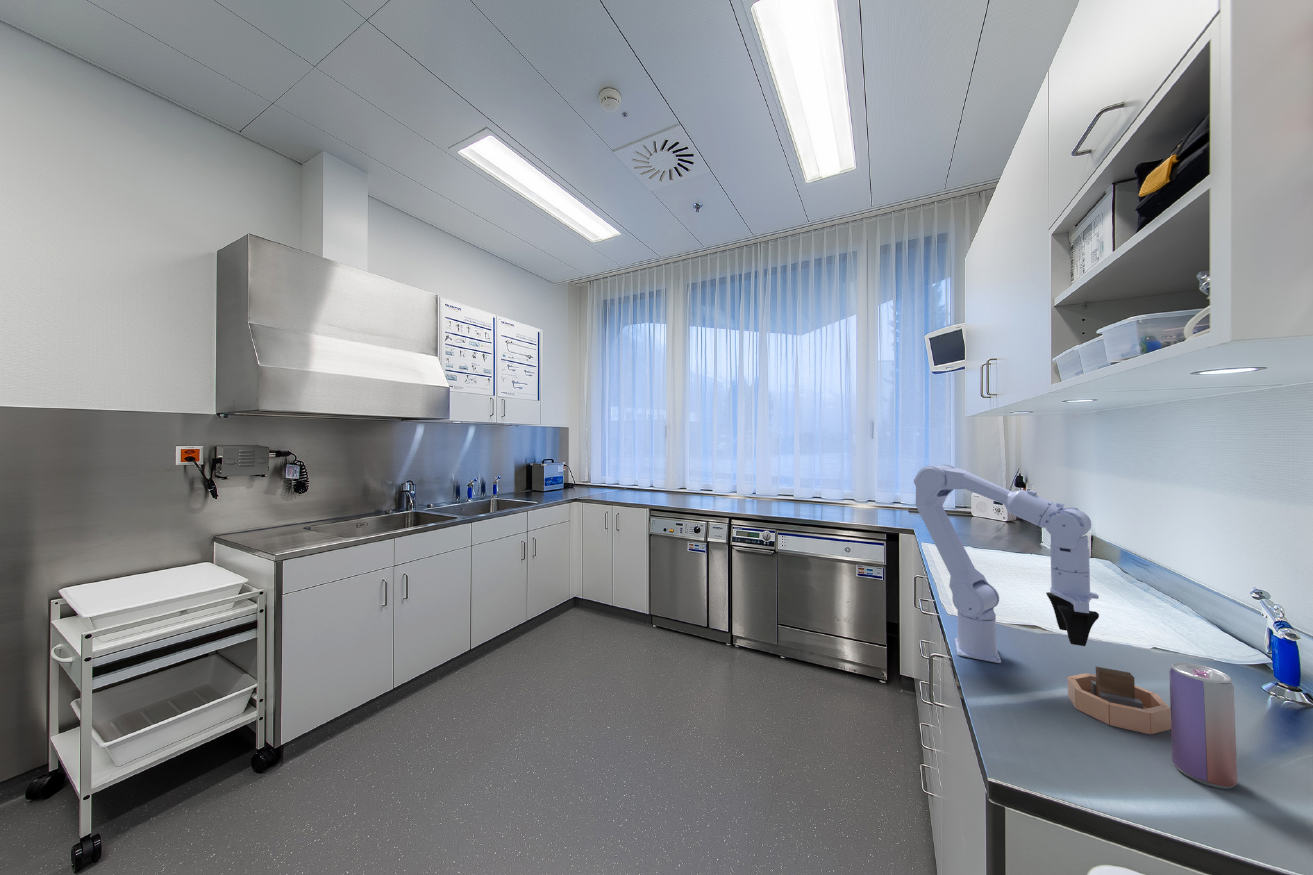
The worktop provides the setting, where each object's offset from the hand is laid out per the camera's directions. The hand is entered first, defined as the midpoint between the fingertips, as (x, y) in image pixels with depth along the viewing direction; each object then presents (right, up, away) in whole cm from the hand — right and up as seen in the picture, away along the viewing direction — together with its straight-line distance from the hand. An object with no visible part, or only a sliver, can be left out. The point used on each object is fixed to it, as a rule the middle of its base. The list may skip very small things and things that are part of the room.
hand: (1071, 637), depth 89 cm
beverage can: (-4, -9, -25) cm, 26 cm away
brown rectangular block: (-1, -8, -9) cm, 12 cm away
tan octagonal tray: (-1, -9, -9) cm, 13 cm away
